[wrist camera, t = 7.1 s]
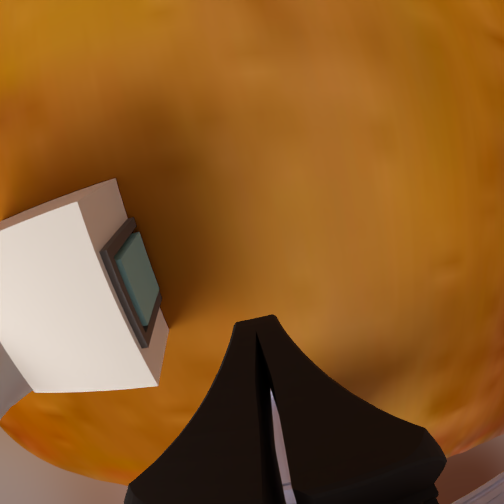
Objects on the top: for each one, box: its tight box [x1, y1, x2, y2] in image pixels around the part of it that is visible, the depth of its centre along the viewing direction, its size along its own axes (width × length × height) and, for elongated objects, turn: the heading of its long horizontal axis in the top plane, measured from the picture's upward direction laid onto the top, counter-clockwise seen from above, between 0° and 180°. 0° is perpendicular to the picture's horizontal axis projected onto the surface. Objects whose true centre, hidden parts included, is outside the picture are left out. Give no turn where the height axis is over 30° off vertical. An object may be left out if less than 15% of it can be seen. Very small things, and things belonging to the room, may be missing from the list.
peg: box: [114, 232, 159, 326], centre depth 17 cm, size 8×4×4 cm, turn 101°
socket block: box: [0, 178, 169, 393], centre depth 17 cm, size 10×11×6 cm
